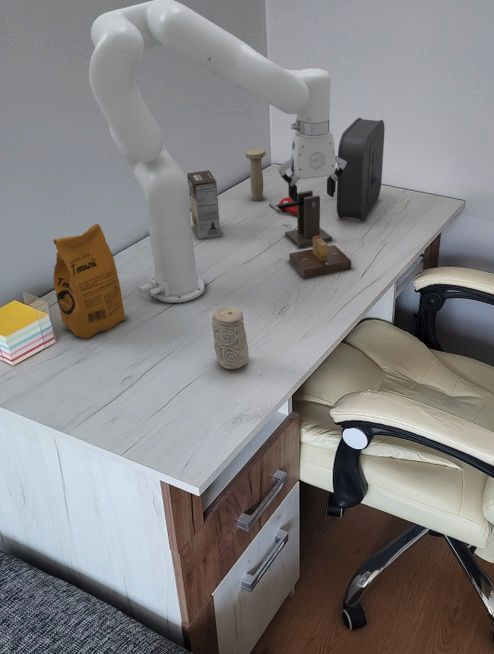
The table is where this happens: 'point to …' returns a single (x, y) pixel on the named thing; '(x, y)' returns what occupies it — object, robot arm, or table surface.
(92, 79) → the robot arm
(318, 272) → the plate
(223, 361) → the carving
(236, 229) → the table surface
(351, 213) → the speaker
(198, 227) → the coffee box
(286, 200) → the tracker holder
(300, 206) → the latch bracket
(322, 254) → the thumbturn
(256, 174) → the handle
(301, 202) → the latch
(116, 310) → the coffee package
